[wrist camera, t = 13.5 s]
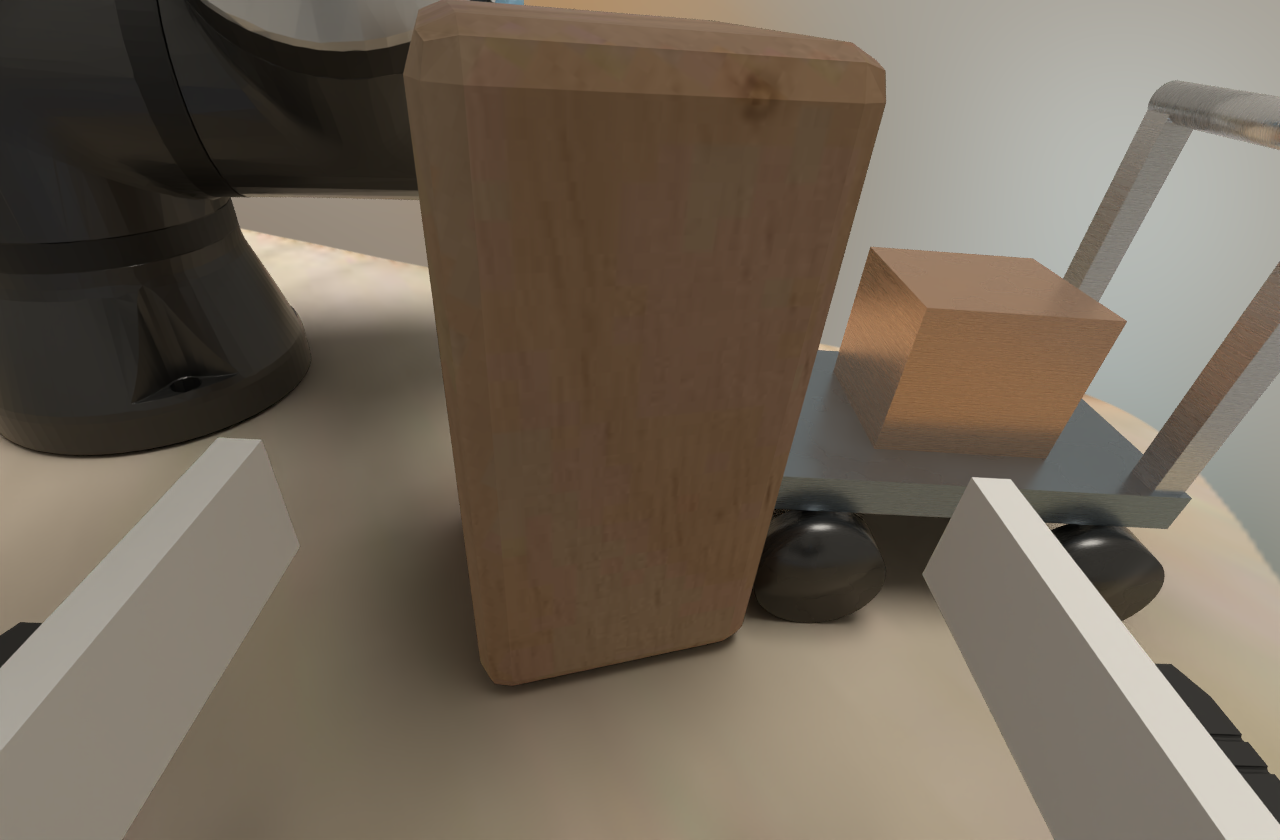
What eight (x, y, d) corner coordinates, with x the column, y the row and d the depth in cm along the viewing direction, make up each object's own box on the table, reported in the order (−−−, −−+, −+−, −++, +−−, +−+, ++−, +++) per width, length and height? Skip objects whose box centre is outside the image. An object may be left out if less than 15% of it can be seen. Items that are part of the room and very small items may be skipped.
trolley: (743, 620, 25) (892, 80, 14) (712, 435, 35) (782, 43, 24) (1121, 636, 25) (1554, 137, 14) (980, 450, 36) (1169, 78, 25)
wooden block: (747, 646, 24) (922, 49, 12) (484, 704, 21) (392, 10, 10) (667, 481, 31) (728, 21, 20) (468, 507, 29) (406, -6, 17)
